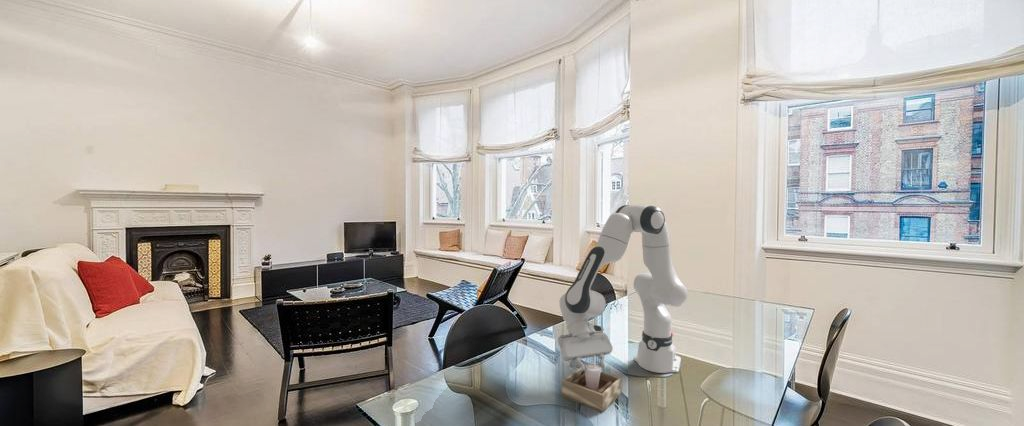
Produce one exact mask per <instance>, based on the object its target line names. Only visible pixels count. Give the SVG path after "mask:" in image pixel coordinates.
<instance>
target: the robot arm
mask: <svg viewBox="0 0 1024 426" xmlns="http://www.w3.org/2000/svg"><path fill="white" fill-rule="evenodd" d="M665 218H666V217H665V214H664V212H663V210H662V209H661V208H660V207H657V206H654V205H645V204H625V205H624V204H623V205H621V206H619V207H618V208H617V209H616V211H615V212H613V213H612V214H611V215H610V216H608V218H607V220H606V222H605V223H604V226H603V228H602V230H601V232H600V235H599V237H598V240H597V242H596V244H595V245H594V247H593V248H592V249H590V251H589V252H588V254H587V256H586V257H585V259H584V261H583V263H582V265H581V267H580V270H579V272H578V273H577V276H576V277H575V280H574V281H573V283H572V284H571V285H570V287H569V288H568V289H567V291H566V292H565V293H563V295H562V296H561V297H560V298H559V309H560V313H561V315H562V319H563V320H564V322H565V325H566V330H567V333H568V334H561V335H560V336H558V338H557V343H558V345H559V348H560V354H561V357H562V359H563V361H565V362H569V361H574V362H575V363H576V364H577V365H578V366H579V368H580V367H581V370H582V371H585V370H587V367H586V364H587V363H584V362H582V361H581V360H582V359H587V358H594V355H595V356H596V357H598V359H599V362H598V364H597V365H599V366H601V368H605V366H606V365H605V362H604V360H605V356H607V355H610V354H612V353H613V349H614V348H613V345H612V342H611V341H610V338H609V337H608V335H607V334H606V333H605V331H604V330H605V329H604V327H603V326H602V325H598V324H597V325H596V324H593V323H590V322H589V320H590V319H594V318H596V317H599V316H601V315H603V314H604V312H605V310H606V307H607V300H606V298H605V297H604V295H603V294H602V293H599V292H597V291H596V290H592V289H591V287H592V286H593V283H594V281H595V279H596V276H597V275H598V273H599V271H600V270H601V268H602V267H603V266H605V265H608V264H613V263H616V262H619V261H620V260H621V259H622V258H623V256H624V255H625V253H626V250H627V248H628V245H629V241H630V238H631V235H632V234H633V232H635V233H641V243H642V244H641V246H642V247H641V249H642V261H643V264H644V266H645V267H646V268H647V270H649V272H640V273H638V274H637V275H636V276H635V277H634V280H633V289H634V290H635V292H636V293H637V296H638V297H639V300H640V303H641V307H642V311H643V330H642V334H641V341H639V342H638V346H637V355H636V356H634V357H633V360H634V361H635V362H636V363H637V364H638V366H639V367H640V368H642V369H643V370H646V371H649V372H652V373H657V374H658V373H659V374H668V373H679V372H680V367H681V362H682V358H681V356H679V355H677V353H676V352H677V348H676V345H674V343H673V336H674V332H673V331H672V323H673V322H672V319H673V318H672V315H671V314H670V312H669V311H668V310H667V307H666V306H668V307H673V308H674V307H675V308H679V307H682V306H683V305H684V304H685V303H686V301H687V299H688V296H689V295H688V293H689V292H688V289H687V287H686V285H684V283H682V281H681V279H680V278H679V276H678V274H677V272H676V269H675V267H674V264H673V260H672V259H673V257H672V251H671V239H670V232H669V228H668V224H667V222H666V219H665Z"/></svg>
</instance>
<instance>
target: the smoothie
mask: <svg viewBox="0 0 1024 426" xmlns="http://www.w3.org/2000/svg"><path fill="white" fill-rule="evenodd" d="M596 357H597V356H595V355H594V357H593V363H592V362H591V363H585V364H586V367H587V370H585V378H586V387H588V388H591V389H594V390H597V391H598V385H599V379H600V373H601V372H603V370H602V368H601V366H599V365H598V364H597V363H596Z"/></svg>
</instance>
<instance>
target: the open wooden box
mask: <svg viewBox="0 0 1024 426" xmlns="http://www.w3.org/2000/svg"><path fill="white" fill-rule="evenodd" d="M622 389H623V378H622V377H619V376H617V375H613V374H610V373H607V372H604V371H602V372H601V373H600V379H599V385H598V391H597V390H594V389H591V388H588V387H586V378H585V371H582V370H581V367H580V366H579V368H577V369H576V370H574V371H573V372H572V373H571V374H569V375H568V376H567V377H565V378H564V379H562V380H561V398H563V399H566V400H569V401H572V402H574V403H577V404H579V405H582V406H584V407H587V408H589V409H591V410H594V411H597V412H599V411H600V413H602V412H603V413H604V412H605V411H606V410H607V409H608V408H609V407H610V406H611V405H613V403H614V402H615V401H616V400H617V399H618V398H619V397H620V396H621V395H622V391H623V390H622Z"/></svg>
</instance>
